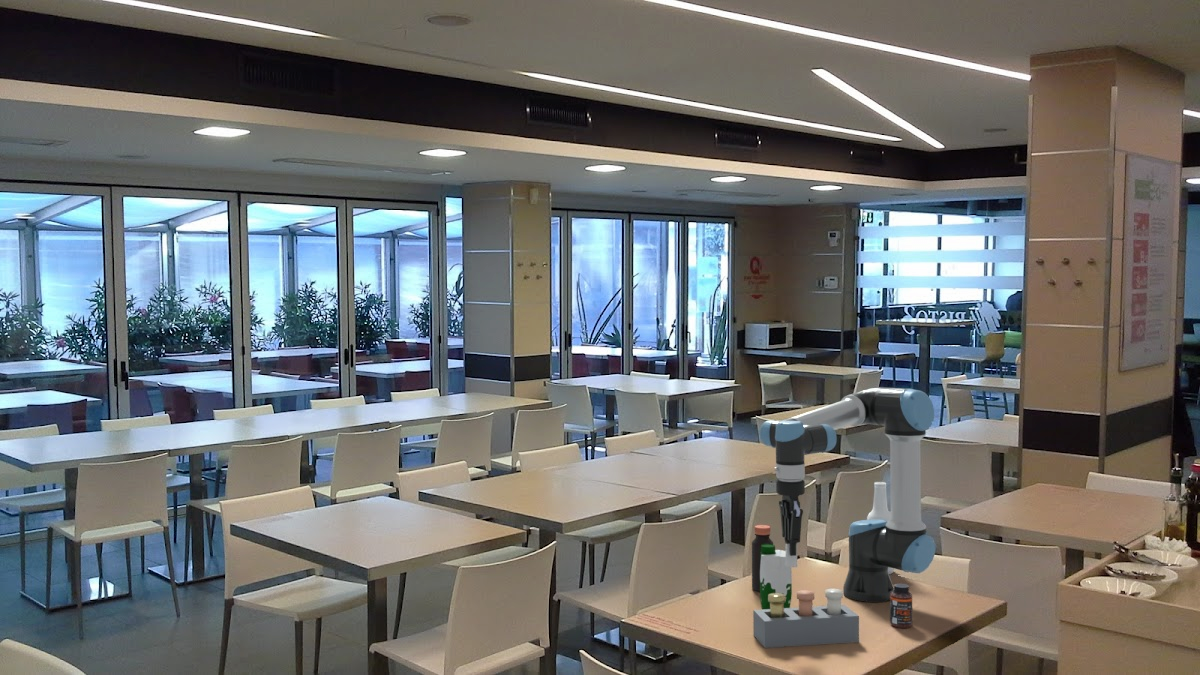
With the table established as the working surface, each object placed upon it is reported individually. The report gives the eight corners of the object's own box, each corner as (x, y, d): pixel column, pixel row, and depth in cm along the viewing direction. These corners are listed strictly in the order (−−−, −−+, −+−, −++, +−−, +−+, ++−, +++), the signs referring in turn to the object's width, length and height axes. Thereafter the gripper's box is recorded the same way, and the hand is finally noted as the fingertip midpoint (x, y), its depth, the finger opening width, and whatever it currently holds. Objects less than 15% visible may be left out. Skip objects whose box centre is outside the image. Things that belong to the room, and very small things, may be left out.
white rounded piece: (838, 614, 274) (838, 588, 274) (845, 620, 269) (845, 593, 269) (822, 615, 273) (822, 589, 273) (829, 621, 269) (828, 593, 268)
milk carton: (760, 608, 297) (760, 541, 296) (791, 610, 295) (791, 543, 295) (759, 617, 288) (759, 548, 288) (791, 619, 287) (791, 550, 286)
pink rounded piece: (810, 616, 273) (810, 589, 272) (816, 621, 268) (816, 594, 268) (794, 617, 272) (794, 590, 272) (800, 622, 267) (800, 595, 267)
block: (844, 629, 277) (844, 604, 277) (859, 641, 267) (859, 615, 267) (753, 635, 273) (753, 610, 273) (764, 647, 263) (764, 621, 263)
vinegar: (751, 591, 315) (750, 528, 314) (752, 586, 321) (752, 523, 321) (773, 593, 313) (772, 529, 312) (774, 587, 320) (773, 524, 319)
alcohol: (878, 576, 331) (878, 486, 330) (861, 570, 339) (861, 481, 338) (899, 573, 334) (899, 483, 333) (881, 567, 342) (881, 479, 341)
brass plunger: (782, 619, 272) (782, 592, 271) (788, 624, 267) (787, 597, 267) (766, 620, 271) (765, 593, 271) (771, 625, 266) (771, 598, 266)
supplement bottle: (896, 629, 277) (896, 588, 277) (886, 622, 283) (886, 583, 283) (916, 628, 278) (916, 587, 278) (905, 621, 284) (905, 581, 284)
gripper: (769, 475, 274) (770, 561, 275) (784, 484, 261) (785, 573, 262) (795, 474, 275) (797, 559, 276) (812, 482, 262) (813, 572, 263)
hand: (791, 566), depth 269 cm, fingers closed
